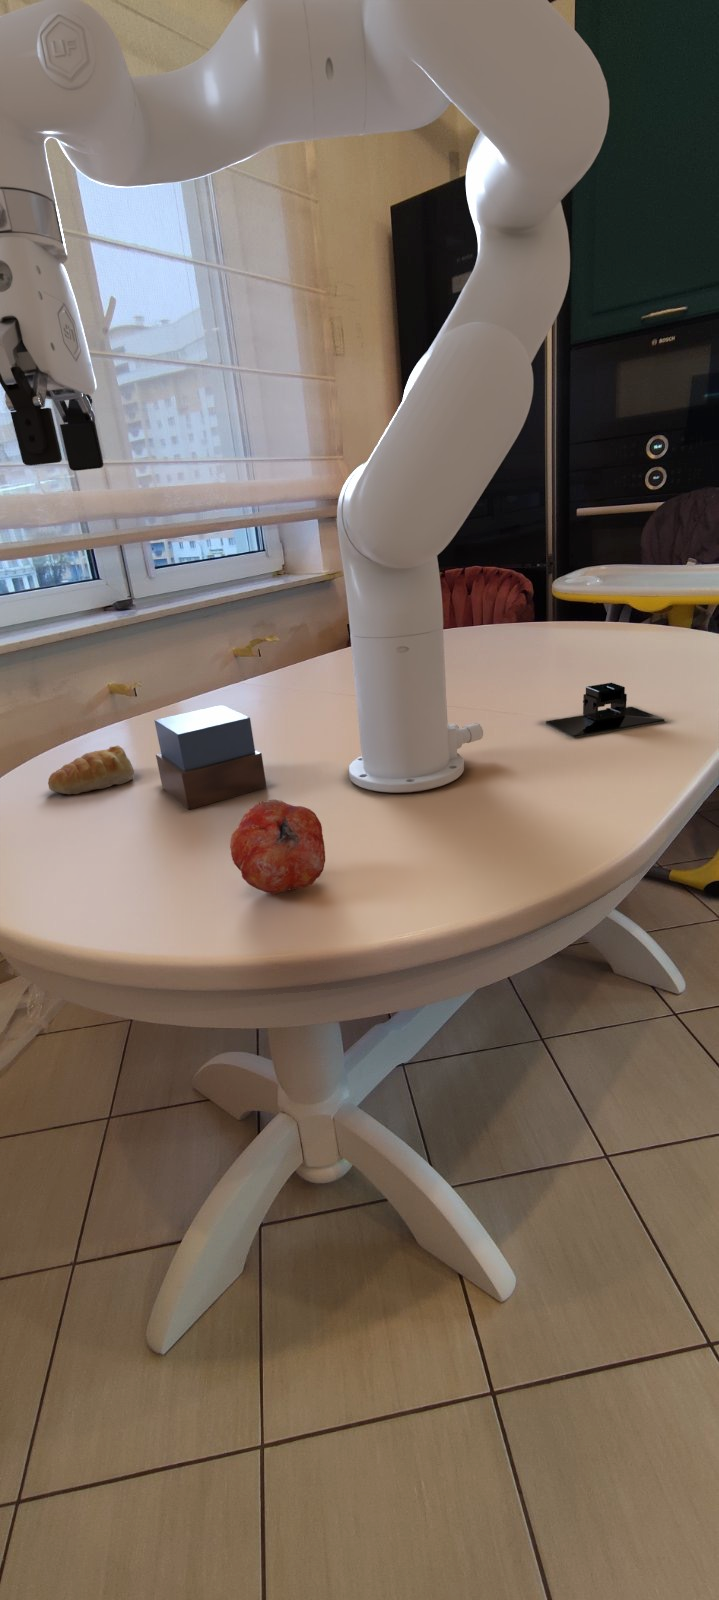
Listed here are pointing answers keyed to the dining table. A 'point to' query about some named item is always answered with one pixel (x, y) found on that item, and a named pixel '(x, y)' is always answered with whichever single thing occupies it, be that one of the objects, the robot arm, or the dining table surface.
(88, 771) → the pastry
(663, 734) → the dining table surface
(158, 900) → the dining table surface
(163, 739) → the top block
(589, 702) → the build plate
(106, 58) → the robot arm
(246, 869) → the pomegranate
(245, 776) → the base block
